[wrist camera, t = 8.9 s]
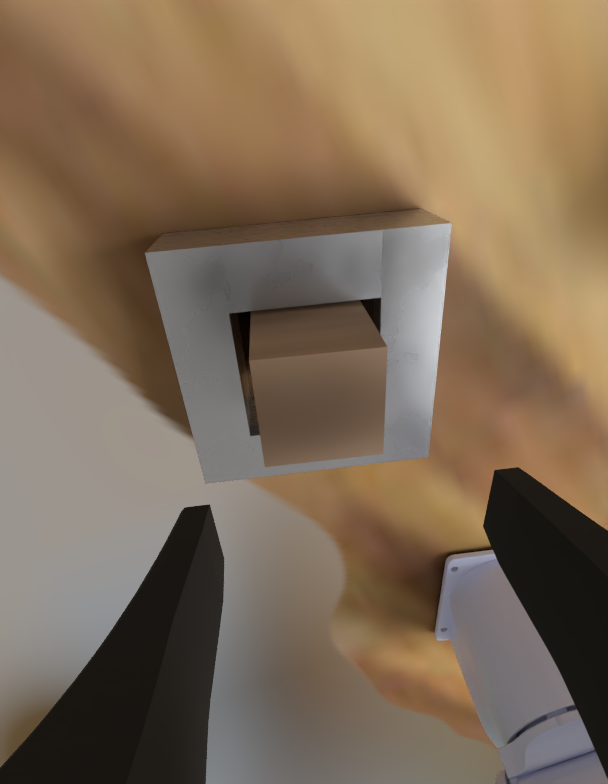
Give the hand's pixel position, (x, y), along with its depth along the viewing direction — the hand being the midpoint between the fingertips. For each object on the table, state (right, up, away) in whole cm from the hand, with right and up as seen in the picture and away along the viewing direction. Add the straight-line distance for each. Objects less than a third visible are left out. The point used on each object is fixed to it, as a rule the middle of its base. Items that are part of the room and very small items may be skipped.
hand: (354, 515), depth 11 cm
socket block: (-1, +5, +8) cm, 10 cm away
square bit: (-1, +6, +8) cm, 10 cm away
